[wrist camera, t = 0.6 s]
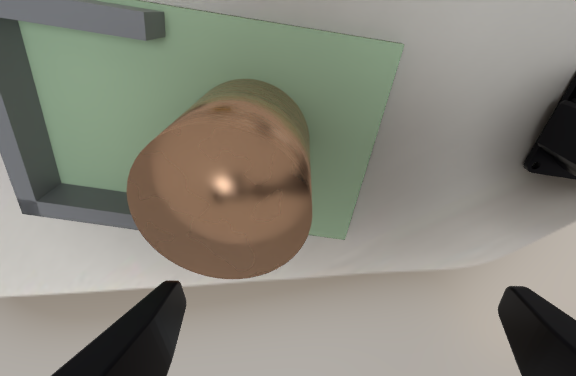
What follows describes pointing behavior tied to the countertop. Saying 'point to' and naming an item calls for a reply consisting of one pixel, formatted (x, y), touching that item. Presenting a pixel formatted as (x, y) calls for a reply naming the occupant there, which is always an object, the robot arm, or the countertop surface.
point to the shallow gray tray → (29, 117)
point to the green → (198, 81)
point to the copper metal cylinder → (227, 183)
